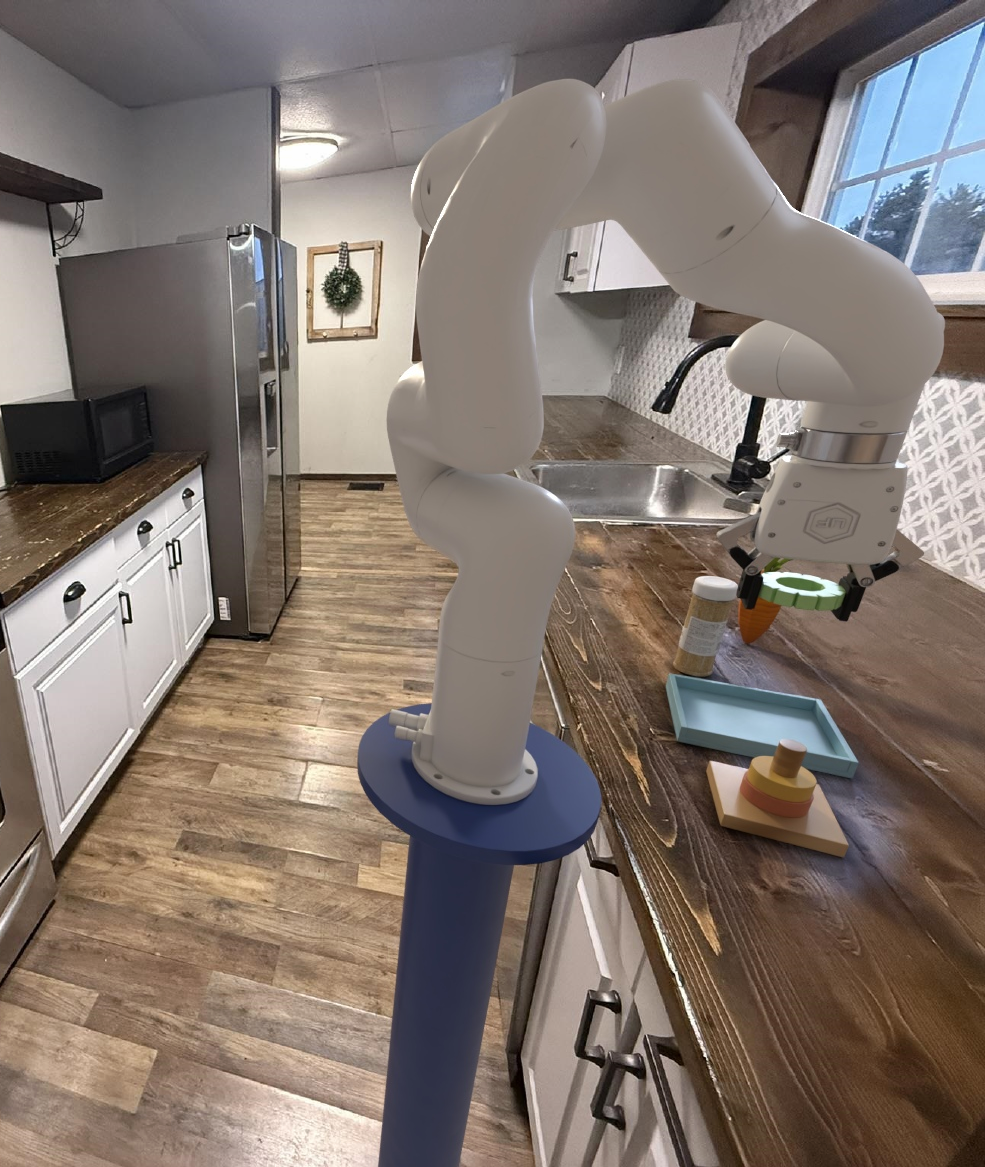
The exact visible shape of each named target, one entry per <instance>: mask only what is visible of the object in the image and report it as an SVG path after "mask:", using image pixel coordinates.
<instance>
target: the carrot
mask: <svg viewBox="0 0 985 1167" xmlns="http://www.w3.org/2000/svg"><path fill="white" fill-rule="evenodd" d="M780 559H781V558H776V557H775V558H774V559H773V560H772V561H771V562H770V563H769V564H768V565H767V566H765V567H764V568H763V569H762V571H761V574H763V573H765V574H766V573H768V572H779V570H781V569H783V565H785V564H786V563H788V562H791V561H795V560H794V559H784V558H782V559H781V560H780ZM781 608H782V605H778V604H774V603H773V602H768V601H766V600H764V599H762V598H760V597H758V599H757V602H756V605H755V608H754V609H752V610H749V609H745V607H744V606H743V604H742V602H741V599H740V598H739V602H738V614H737V615H738V620H737V621H738V626H739V627H738V629H739V633H740V635H741V636H740V637H741V639H742V641H743V642H744V643H745V645H750V644H752V643H754V642H755V641H757V640H758V639H759V638H761V637H762V636H763V635H764V634H765V633H766V632H767V631H768V630H769V628H770V627H771V626H772V624H773V622H774V621H775V620H776V617H777V616H778V614H779V613H780V610H781Z"/></svg>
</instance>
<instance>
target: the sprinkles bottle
mask: <svg viewBox="0 0 985 1167" xmlns="http://www.w3.org/2000/svg"><path fill="white" fill-rule="evenodd" d="M738 585H739V584H737V583H736V582H735V581H734V580H731V579H728V578H726V577H721V576H714V575H702V576H698V577H696V578H695V579H694V582H693V585H692V589H691V592H692V593H691V594H692V596H691V599H690V602H689V606H688V610H687V613H686V617H685V620H684V623H683V626H682V630H681V634H680V637H679V641H678V647H677V651H676V654H675V658H674V660H673V662H672V666H673V667H674V668H675V670H677V671H679V672H681V673H683V674H685V675H688V676H691V677H698V678H701V677H704V678H705V677H708V676H711V675H712V674H713V672H714V666H715V661H716V657H717V655H718V654H719V650H720V647H721V644H722V640H723V636H724V634H725V630H726V627H727V623H728V621H729V620H728V619H729V615H730V611H731V608H732V604H733V602H734V600H735V599H736V598H737V596H736V593H737V588H738Z"/></svg>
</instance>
